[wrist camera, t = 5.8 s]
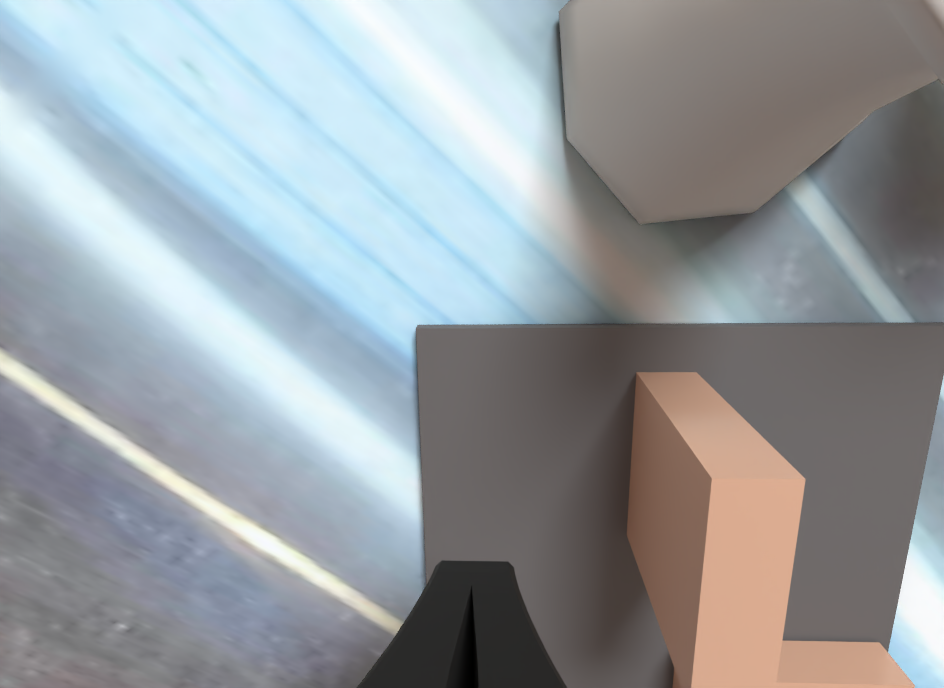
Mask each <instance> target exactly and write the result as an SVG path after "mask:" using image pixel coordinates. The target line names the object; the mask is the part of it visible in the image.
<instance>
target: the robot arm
mask: <svg viewBox="0 0 944 688" xmlns="http://www.w3.org/2000/svg"><path fill="white" fill-rule="evenodd" d="M357 688H567V687H566V685H565V683H564V681H563V680H562V678H561V676H560V674H559V673H558V671H557V669H556V668H555V666H554V664H553V662H552V660H551V658H550V656H549V655H548V653H547V651H546V649H545V647H544V645H543V643H542V641H541V639H540V637H539V635H538V633H537V630H536V628H535V626H534V624H533V622H532V620H531V618H530V615H529V613H528V611H527V608H526V606H525V603H524V601H523V598H522V595H521V592H520V590H519V586H518V583H517V580H516V576H515V571H514V567H513V566H512V565H511V564H510V563H509V562H508V561H445V560H442V561H441V562H439V563H438V564H437V565H436V566H435V569H434V571H433V573H432V575H431V577H430V579H429V581H428V583H427V585H426V587H425V589H424V591H423V592H422V594H421V596H420V598H419V599H418V601H417V603H416V604H415V606H414V608H413V609H412V611H411V613H410V614H409V616H408V617H407V619H406V620H405V622H404V623H403V625H402V626H401V628H400V630H399V631H398V633H397V634H396V636H395V637H394V639H393V640H392V642H391V643H390V644H389V646H388V647H387V649H386V650H385V651H384V653H383V654H382V655H381V657H380V658H379V659H378V661H377V662H376V663H375V665H374V666H373V667H372V669H371V670H370V671H369V673H368V674H367V675H366V677H365V678H364V679H363V680H362V682H361V683H360V684H359V685H358V687H357Z"/></svg>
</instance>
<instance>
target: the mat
mask: <svg viewBox="0 0 944 688" xmlns="http://www.w3.org/2000/svg"><path fill="white" fill-rule="evenodd" d="M416 343H417V367H418V392H419V416H420V441H421V465H422V490H423V514H424V539H425V563H426V585H427V583H428V581H429V579H430V577H431V575H432V573H433V571H434V569H435V566H436V565H437V564H438V563H439V562H441V561H442V560H445V561H508V562H509V563H510V564H511V565H512V566H513V567H514V571H515V576H516V580H517V583H518V586H519V590H520V592H521V595H522V598H523V601H524V603H525V606H526V608H527V611H528V613H529V615H530V618H531V620H532V622H533V624H534V626H535V628H536V630H537V633H538V635H539V637H540V639H541V641H542V643H543V645H544V647H545V649H546V651H547V653H548V655H549V656H550V658H551V660H552V662H553V664H554V666H555V668H556V669H557V671H558V673H559V674H560V676H561V678H562V680H563V681H564V683H565V685H566V687H567V688H673V677H674V665H673V663H672V660H671V657H670V654H669V651H668V649H667V646H666V643H665V640H664V637H663V635H662V632H661V629H660V626H659V624H658V621H657V618H656V615H655V612H654V610H653V607H652V604H651V601H650V598H649V596H648V593H647V590H646V587H645V585H644V582H643V579H642V576H641V573H640V571H639V568H638V565H637V562H636V559H635V557H634V554H633V551H632V548H631V546H630V543H629V540H628V537H627V522H628V505H629V488H630V471H631V455H632V438H633V421H634V404H635V388H636V372H697V373H698V374H699V375H700V376H701V377H702V378H703V379H704V380H705V381H706V382H707V383H708V384H709V385H710V386H711V387H712V388H713V389H714V390H715V391H716V392H717V393H718V394H719V395H720V396H721V397H722V398H723V399H724V400H725V401H726V402H727V403H728V404H729V405H730V406H731V407H733V408H734V409H735V410H736V411H737V412H738V413H739V414H740V415H741V416H742V417H743V418H744V419H745V420H746V421H747V422H748V423H749V424H750V425H751V426H752V427H753V428H754V429H755V430H756V431H757V432H758V433H759V434H760V435H761V436H762V437H763V438H764V439H765V440H766V441H767V442H768V443H769V444H770V445H771V446H772V447H773V448H774V449H775V450H776V451H777V452H778V453H779V454H781V455H782V456H783V457H784V458H785V459H786V460H787V461H788V462H789V463H790V464H791V465H792V466H793V467H794V468H795V469H796V470H797V471H798V472H799V473H800V474H801V475H802V476H803V477H804V478H805V479H806V480H805V487H804V494H803V501H802V508H801V515H800V522H799V529H798V536H797V542H796V549H795V556H794V563H793V570H792V577H791V584H790V591H789V598H788V605H787V612H786V619H785V625H784V632H783V639H782V641H835V642H880V644H881V645H882V646H883V647H884V649H885V650H886V651H887V652H888V648H889V643H890V638H891V633H892V628H893V624H894V619H895V614H896V609H897V604H898V599H899V594H900V589H901V584H902V579H903V574H904V569H905V564H906V559H907V554H908V549H909V544H910V539H911V534H912V529H913V524H914V519H915V514H916V509H917V504H918V499H919V494H920V489H921V484H922V479H923V474H924V469H925V464H926V459H927V454H928V449H929V444H930V439H931V434H932V430H933V425H934V420H935V415H936V410H937V405H938V400H939V395H940V390H941V385H942V380H943V375H944V323H943V322H933V323H722V324H510V325H418V326H417V327H416Z"/></svg>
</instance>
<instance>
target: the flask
mask: <svg viewBox="0 0 944 688" xmlns="http://www.w3.org/2000/svg"><path fill="white" fill-rule="evenodd" d="M559 24H560V40H561V56H562V72H563V88H564V104H565V120H566V136H567V140H568V141H569V142H570V143H571V144H572V145H573V147H574V148H575V149H576V150H577V151H578V152H579V154H580V155H581V156H582V157H583V158H584V160H585V161H586V162H587V163H588V164H589V165H590V167H591V168H592V169H593V170H594V171H595V172H596V174H597V175H598V176H599V177H600V178H601V180H602V181H603V182H604V183H605V184H606V185H607V187H608V188H609V189H610V190H611V191H612V192H613V194H614V195H615V196H616V197H617V198H618V200H619V201H620V202H621V203H622V204H623V205H624V207H625V208H626V209H627V210H628V211H629V212H630V214H631V215H632V216H633V217H634V218H635V219H636V221H637V222H638V223H639V224H648V223H658V222H668V221H677V220H687V219H696V218H706V217H716V216H725V215H735V214H745V213H754V212H755V211H756V210H758V209H759V208H760V207H761V206H763V205H764V204H765V203H766V202H767V201H769V200H770V199H771V198H772V197H773V196H775V195H776V194H777V193H778V192H779V191H781V190H782V189H783V188H784V187H785V186H786V185H788V184H789V183H790V182H791V181H792V180H794V179H795V178H796V177H797V176H798V175H800V174H801V173H802V172H803V171H804V170H806V169H807V168H808V167H809V166H810V165H812V164H813V163H814V162H815V161H816V160H818V159H819V158H820V157H821V156H822V155H823V154H825V153H826V152H827V151H828V150H829V149H831V148H832V147H833V146H834V145H835V144H837V143H838V142H839V141H840V140H841V139H843V138H844V137H845V136H846V135H847V134H849V133H850V132H851V131H852V130H853V129H854V128H856V127H857V126H858V125H859V124H860V123H862V122H863V121H864V120H865V119H866V118H867V117H868V116H869V115H870V114H871V113H872V112H873V111H875V110H877V109H879V108H881V107H883V106H885V105H887V104H889V103H891V102H893V101H895V100H897V99H899V98H901V97H903V96H905V95H907V94H909V93H912V92H914V91H916V90H918V89H920V88H922V87H924V86H926V85H928V84H930V83H932V82H934V81H936V80H938V79H939V80H940V81H941V83H942V84H944V0H570V1H569V2H568V3H567V4H566V5H565V6H564V7H563V8H562V9H561V10H560V11H559Z"/></svg>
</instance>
